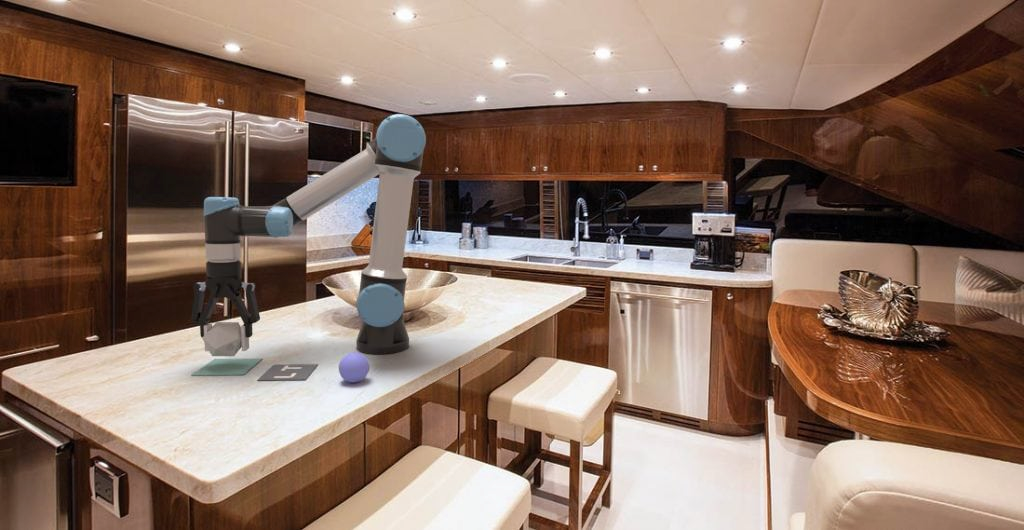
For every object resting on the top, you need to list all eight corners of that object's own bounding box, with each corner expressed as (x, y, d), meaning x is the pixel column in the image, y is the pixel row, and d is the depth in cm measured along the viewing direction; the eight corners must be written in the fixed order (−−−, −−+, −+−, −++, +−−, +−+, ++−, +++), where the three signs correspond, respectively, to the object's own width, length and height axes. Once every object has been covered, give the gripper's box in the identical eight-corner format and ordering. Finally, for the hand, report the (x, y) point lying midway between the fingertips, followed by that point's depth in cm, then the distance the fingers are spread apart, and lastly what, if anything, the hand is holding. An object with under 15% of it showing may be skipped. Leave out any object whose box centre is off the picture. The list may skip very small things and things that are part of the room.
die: (218, 365, 121) (245, 330, 123) (188, 345, 122) (215, 310, 124) (234, 366, 129) (259, 333, 132) (205, 347, 130) (231, 314, 132)
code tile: (317, 365, 131) (317, 364, 131) (305, 380, 121) (305, 379, 121) (273, 365, 130) (273, 364, 130) (257, 381, 119) (257, 379, 119)
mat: (262, 359, 135) (262, 358, 135) (244, 375, 123) (243, 374, 123) (214, 359, 133) (214, 358, 133) (191, 375, 121) (191, 374, 121)
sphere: (369, 375, 125) (369, 348, 124) (369, 385, 119) (369, 357, 118) (339, 377, 123) (339, 349, 123) (337, 387, 117) (337, 358, 116)
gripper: (273, 259, 129) (275, 345, 132) (186, 257, 127) (190, 345, 130) (262, 263, 122) (265, 354, 125) (169, 261, 119) (175, 354, 122)
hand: (227, 349), depth 127 cm, fingers closed on die, 8 cm apart
